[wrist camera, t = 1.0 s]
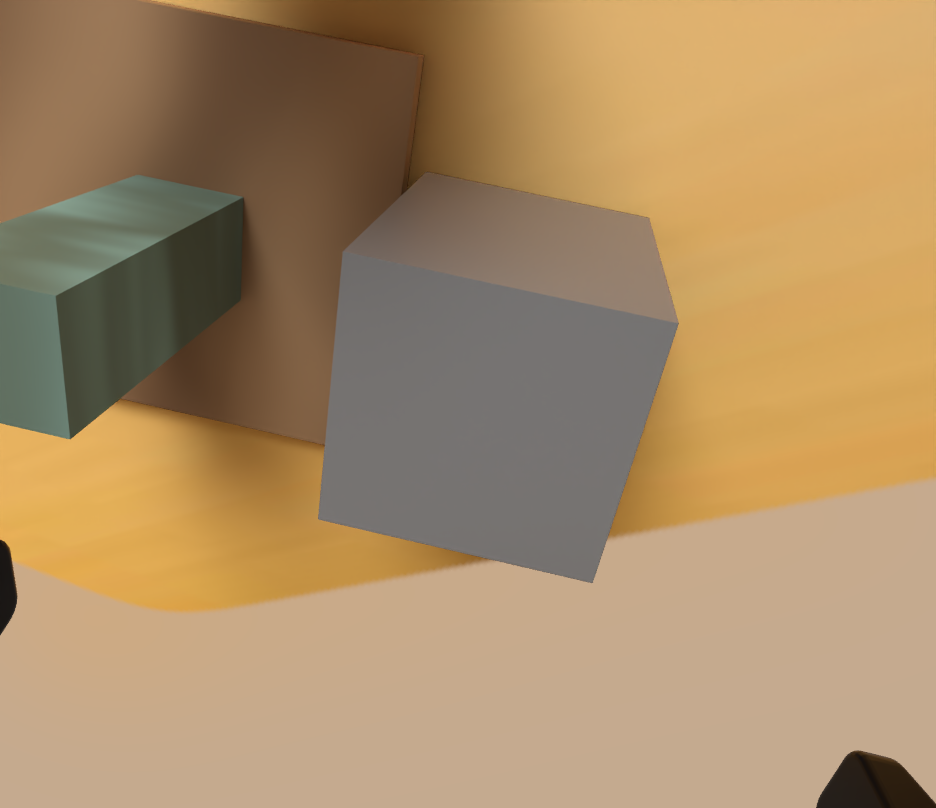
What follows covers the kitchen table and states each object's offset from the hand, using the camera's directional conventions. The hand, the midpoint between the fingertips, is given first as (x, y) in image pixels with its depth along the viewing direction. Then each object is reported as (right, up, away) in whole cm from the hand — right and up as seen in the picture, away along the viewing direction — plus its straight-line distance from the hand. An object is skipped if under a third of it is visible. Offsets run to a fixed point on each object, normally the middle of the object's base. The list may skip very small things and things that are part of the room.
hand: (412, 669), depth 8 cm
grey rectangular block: (+2, +5, +11) cm, 12 cm away
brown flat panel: (-6, +7, +11) cm, 14 cm away
